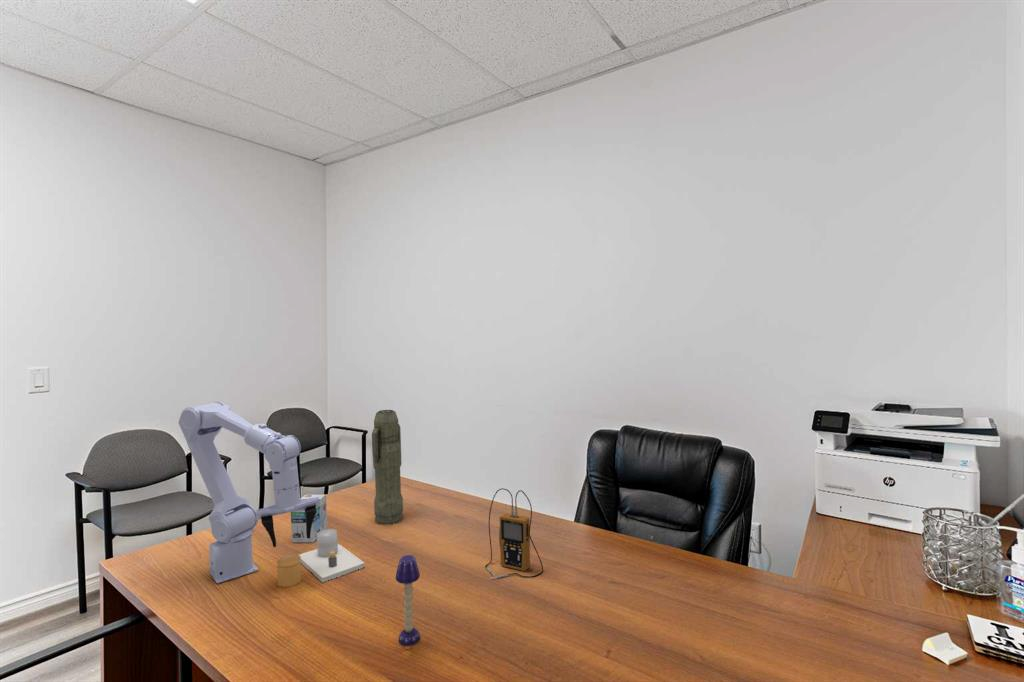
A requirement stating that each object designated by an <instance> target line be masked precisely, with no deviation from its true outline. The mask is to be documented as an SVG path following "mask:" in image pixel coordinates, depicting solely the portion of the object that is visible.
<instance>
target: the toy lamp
mask: <svg viewBox="0 0 1024 682" xmlns="http://www.w3.org/2000/svg"><path fill="white" fill-rule="evenodd" d="M395 573H396V574H395V580H396V582H397V583H399V584H403V585H404V586H403V593H404V594H403V595H404V596H403V600H404V604H403V605H404V606H403V607H404V610H403V611H404V613H403V615H404V627H403V628H404V629H402V631H400V633H399V636H398V643H399V644H400V645H402V646H404V647H405V646H414V645H415V644H417V643H418V642H419V641H420V639H421V635H420V631H419V630H418V629H417V628H415V627H414V622H413V621H414V616H413V615H414V608H413V606H414V601H413V599H414V593H413V590H414V588H413V587H414V586H413V583H415V582H416V581H418V580H419V579H420V575H421V574H420V570H419V567H418V563H417V560H416V557H415V556H414V555H411V554H407V555H403V556H402V557H400V559H399V561H398V564H397V568H396V572H395Z"/></svg>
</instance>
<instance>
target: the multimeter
mask: <svg viewBox="0 0 1024 682" xmlns="http://www.w3.org/2000/svg"><path fill="white" fill-rule="evenodd" d="M501 490H504V491H507V492H508V493H509V495H510V497H511V511H510V513H507V512H505V513H503V514H502V515H501V516H499V533H498V534H499V535H498V536H499V538H498V539H499V551H500V565H501V567H503V568H510V569H514V570H518V571H521V572H526V571H527V570H528V569H529V568H530V567H531V543H532V546H533V549H534V550H535V552H536V555H537V558H538V559H539V562H540V565H541V572H539V573H538V574H536V575H535V574H534V575H531V576H526V575H522V574H520V573H516V572H514V573H507V574H502V575H501V574H500V575H496V576H495V574H494V573H493V571H492V569H490V568H489V567H488V566H489V565H490V564H491V563H492V560H493V559H492V558H493V550H492V539H491V538H492V537H491V527H490V526H491V525H490V520H491V511H492V506H493V504H494V503H493V502H494V499H495V497H496V495H497V493H498V492H499V491H501ZM519 492H521V493H522V494H523V495H524V497H526V499H527V501H528V504H529V507H530V517H528V516H522V515H518V510H517V509H518V506H517V496H518V495H519ZM514 498H515V500H514V499H513V494H512V492H511V491H510V490H509V489H507V488H504V487H503V488H501V487H500V488H498V490H496V491H495V493H494V495H493V498H492V501H491V503H490V508H489V513H488V514H489V515H488V534H489V535H488V536H489V543H490V561H489V562H487V564H485V569H487V572H489V573H490V574H491V575H493V576H495V577H491V578H489V579H490V580H494V579H497V578H498V579H501V578H504V577H505V578H506V577H508V576H511V575H517V576H519V577H522V578H534V577H537V576H540V575H541V574H543V572H544V567H543V566H544V565H543V563H542V560H541V558H540V555H539V552H538V550H537V548H536V546H535V544H534V542H533V539H532V536H531V524H532V517H533V515H532V514H533V509H532V503H531V501H530V499H529V497H528V496H527V494H526V493H525V492H524V491H523V490H518V491H517V492H516V494H515V496H514ZM514 501H515V505H513V504H514V503H513V502H514ZM514 509H515V510H514Z"/></svg>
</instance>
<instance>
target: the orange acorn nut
mask: <svg viewBox="0 0 1024 682" xmlns="http://www.w3.org/2000/svg"><path fill="white" fill-rule="evenodd" d="M276 561H277V567H276V568H277V569H276V570H277V572H276V573H277V586H278V587H282V588H287V587H293V586H296V585H297V584H299V583H300V582H302V563H301V557H300V556H299V554H296V553H295V554H287V555H286V554H285V555H284V556H281V557H280V558H278V560H276Z"/></svg>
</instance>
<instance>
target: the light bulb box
mask: <svg viewBox="0 0 1024 682" xmlns="http://www.w3.org/2000/svg"><path fill="white" fill-rule="evenodd" d="M315 497H319V498H320V505H321V506H319V507H316V510H317V511H316V514H315V517H314V520H313V523H312V527H311V533H310V538H309V539H307V535H306V517H305V509H302V510H297V511H293V512H290V527H291V543H315V541H317V533H318V532H320V531H322V530H325V529H328V519H327V518H328V517H327V516H328V515H327V511H328V510H327V495H326V494H304V495H303V496H302V497H300V499H308V498H315Z"/></svg>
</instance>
